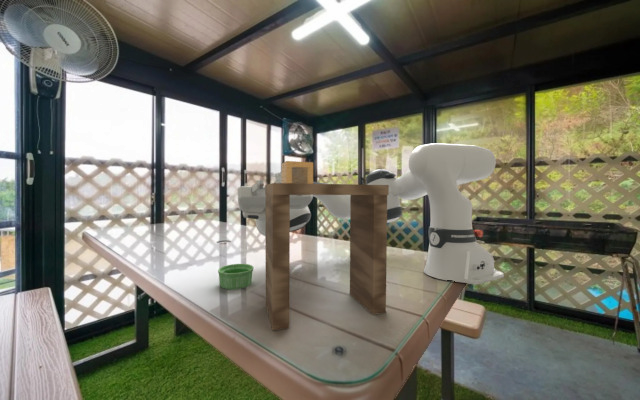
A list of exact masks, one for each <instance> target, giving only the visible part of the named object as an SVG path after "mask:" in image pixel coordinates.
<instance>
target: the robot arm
mask: <svg viewBox="0 0 640 400" xmlns="http://www.w3.org/2000/svg"><path fill="white" fill-rule="evenodd" d="M496 162H497V159H496V155H495V154H494V152H493V151H492V150H491V149H488V148H485V147H482V146H479V145H474V144H457V143H439V142H438V143H436V142H435V143H434V142H433V143H427V144H422V145H418V146H416V147H415V148H414V149H413V151H412V152H411V153H410V155H409V158H408V168H409V169H407V171H405V172H404V173H403V174H402V175H401V176H399V177H396V176H397V175H396V173H395V172H393V173H392V172H391V171H389V170H387V169H382V168H381V169H375V170H373V171H371V172H370V173H368V174H367V175H366V177H365V185H389V195H387V223H393V222H396V221H397V220H398V219H400V218H401V217H403V208H402V206H401V200H400V199H402V200H404V201H411V200H417V199H421V198H422V197H424V196H428V200H429V210H430V211H429V212H430V214H429V215H430V217H429V218H430V224H429V225H430V226H429V227H428V240H429V245H428V251H427V257H426V261H425V267H424V269H423V273H424V274H425V275H428V276H430V277H431V278H432V277H433V278H435V279H439V280H441V281H447V280H454V281H455V282H456V283H465V284H470V285H474V286H478V285H481V284H485V283H488V282H491V281H494V280H498V279H502V278H504V277H505V275H504V274H505V273H504V272H502V271H501V270H498V269H495V260H494V256H493V254H491V252H489V251H488V250H487V249H485V248H484V246H482V245H481V244H480V243H478V241H477V238H476V237H479V238H483V235H484V231H483V230H482V229H473V225H472V223H473V204H472V201H471V200H470V199H469V197H467V196H466V195H463V194H462V193H461V191H460V190H459V187H458V186H461V185H465V184H468V183H472V182H476V181H477V182H478V181H480V180H481V181H482V180H485V179H488V178H489V177H490V176H491V175H492V174H493V173H494V170H495V168H496V165H497V163H496ZM264 183H265V182H264V179H257V181H256V182H255V183H254V184H253V185H251V186H250V185H249V186H248V185H242V186H241V185H240V186H238V187H237V202H238V207H239V209H240V210H241V211H242V216H243V218H244V219H253V220H255V226H256V227H255V228H256V230H257V231H258V233H259V234H260V235H262V236H264V237H266V194H265V185H264ZM273 183H275V181H274V182H273ZM313 184H327V183H326V182H319V181H313ZM313 198H316V199H317V200H319V202H321V204H322V205H324V207H325V208H326V209H327V210H328V212H329V214H331V215H332V216H333V217H335V218H337V219H340V220H348V219H349V220H350V195H290V233H293V232H296V231H299V230H302V229H303V228H304V227H306V226H307V224H308V223H309V222H310V220H311V217H312V213H311V211H310V208H309V205H310V204H311V202H312V201H313ZM454 281H453V282H454Z"/></svg>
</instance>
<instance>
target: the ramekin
mask: <svg viewBox="0 0 640 400" xmlns="http://www.w3.org/2000/svg"><path fill="white" fill-rule="evenodd" d="M253 271H254V266H253V265H251V264H248V263H233V264H227V265H224V266H222V267H219V268H218V270H217V272H218V276H219V277H218V280H219V286H220V288H222V289H224V288H225V290H239V289H244V288H247V287H249V286H250V285H251V284H252V282H253Z"/></svg>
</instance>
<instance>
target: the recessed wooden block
mask: <svg viewBox="0 0 640 400" xmlns="http://www.w3.org/2000/svg"><path fill="white" fill-rule="evenodd" d="M274 177H275V179H274V182H275V183H297V184H313V182H314V162H313V161H296V160H295V161H293V160H291V161H289V160H286V161H284V162H283V163H281V171H280V172H278V173H276V174H275V176H274Z"/></svg>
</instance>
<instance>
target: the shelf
mask: <svg viewBox="0 0 640 400" xmlns="http://www.w3.org/2000/svg"><path fill="white" fill-rule="evenodd" d="M264 186H265V194H266V236H265V307H266V308H265V309H266V311H267V315H268V319H269V323H270V326H271V330H272V331H273V332H275V331H279V330H284V329H285V330H286V329H290V275H291V274H290V273H291V272H290V265H291V264H290V256H291V254H290V253H291V252H290V251H291V250H290V246H291V245H290V243H291V242H290V240H291V238H290V237H291V235H290V233H291V232H290V195H350V218H349V222H350V225H349V230H350V231H349V295H350V296H351V297H352V298H354V299H355V300H356V301H357V302H358V303H359V304H360V305H361V306H363V307H364V308H365V309H366V310H367V311H368V312H369V313H370V314H372V315H378V314H383V313H385V314H386V313H387V245H388V244H387V242H388V241H387V240H388V239H387V238H388V232H387V231H388V222H387V195H389V185H366V184H356V183H355V184H348V183H346V184H343V183H326V184H297V183H274V182H271V183H267V184H265V185H264Z"/></svg>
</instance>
